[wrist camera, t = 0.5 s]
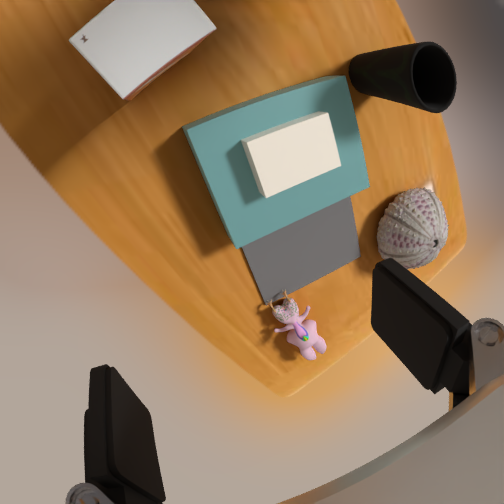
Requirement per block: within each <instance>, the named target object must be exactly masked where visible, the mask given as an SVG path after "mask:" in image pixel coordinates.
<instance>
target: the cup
mask: <svg viewBox="0 0 504 504" xmlns="http://www.w3.org/2000/svg"><path fill="white" fill-rule="evenodd" d="M349 77H350V80H351V83H352V84H353V86H354V87H355V88H356V90H358V91H359V92H361V93H363V94H367V95H371V96H375V97H379V98H383V99H387V100H391V101H395V102H398V103H402V104H405V105H409V106H412V107H416V108H419V109H422V110H425V111H428V112H432V113H440V112H443V111H444V110H446V109H447V108H448V107H449V106H450V104H451V103H452V100H453V99H454V96H455V92H456V83H457V82H456V73H455V69H454V65H453V63H452V60H451V59H450V57H449V55H448V53H447V52H446V51H445V50H444V49H443V48H442V47H441V46H439V45H438V44H436V43H434V42H421V43H414V44H408V45H403V46H397V47H392V48H387V49H382V50H377V51H372V52H368V53H363V54H359V55H357V56H356V57H354V58H353V60H352V61H351V63H350V66H349Z"/></svg>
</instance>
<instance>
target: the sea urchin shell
mask: <svg viewBox="0 0 504 504" xmlns="http://www.w3.org/2000/svg"><path fill="white" fill-rule="evenodd" d="M447 222H448V221H447V220H446V215H445V212H444V208H443V206H442V202H441V201H439V198H437V196H435V193H434V192H431V190H429V189H428V190H427V189H426V188H425V187H424V188H423V189H422V188H420V189H418V188H416V189H415V188H414V189H410V190H407V191H403V193H401V194H398V196H397V197H395V199H394V201H393V202H392V203H390V204H389V206H388V208H386V209H385V214H384V216H383V217H381V220H380V222H379V227H378V232H377V234H378V235H377V241H378V245H379V246H378V249H379V250H378V252H379V253H380V255H381V258H383V259H387V258H393V259H394V260H396V261H397V262H398V263H400V264H401V265H402V266H403V267H405V268H406V269H409V268H413V269H415V268H416V267H417V268H419V267H420V266H424V265H426V264H428V263H430V262H432V261H433V260H434V259H435V258H436V257H437V256H438V253H439V251H440V250H441V249H442V247H443V246H444V245H445V242H446V240H447V236H448V226H449V225H448V224H447Z"/></svg>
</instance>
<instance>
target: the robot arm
mask: <svg viewBox="0 0 504 504" xmlns="http://www.w3.org/2000/svg"><path fill="white" fill-rule="evenodd" d="M371 325H372V328H373V330H374V331H375V332H376V333H377V334H378V336H379V337H380V338H381V339H382V340H383V341H384V342H385V343H386V344H387V346H388V347H389V348H390V349H391V350H392V351H393V352H394V354H395V355H396V356H397V357H398V358H399V359H400V360H401V361H402V363H403V364H404V365H405V366H406V367H407V368H408V369H409V371H410V372H411V373H412V374H413V375H414V376H415V378H416V379H417V380H418V381H419V382H420V383H421V385H422V386H423V387H424V388H425V389H427V390H429V389H430V390H431V391H432V392H433V393H434V394H436V393H437V392H438V391H440V390H441V389H443V388H444V387H446V389H447V390H448V391H449V412H447V413H446V414H445V415H443V416H442V417H440V418H439V419H438V420H436V421H435V422H433V423H432V424H430V425H429V426H428V427H426V428H425V429H423V430H422V431H420V432H419V433H417V434H416V435H414V436H413V437H411V438H410V439H408V440H406V441H405V442H403V443H401V444H400V445H398V446H397V447H395V448H393V449H392V450H390V451H388V452H386V453H385V454H383V455H382V456H379V457H378V458H376V459H374V460H372V461H371V462H369V463H367V464H365V465H363V466H362V467H360V468H358V469H355V470H354V471H352V472H350V473H348V474H346V475H344V476H342V477H339V478H337V479H335V480H333V481H331V482H329V483H327V484H324V485H322V486H320V487H318V488H315V489H313V490H311V491H308V492H306V493H303V494H301V495H299V496H296V497H293V498H291V499H289V500H286V501H283V502H281V503H278V504H504V326H503V324H501V323H500V322H499V321H497V320H494V319H491V318H482V319H479V320H477V321H476V322H475V323H474V324H473V325H472V324H470V323H469V320H467V319H466V318H465V317H464V316H463V315H462V314H461V313H459V312H458V311H457V310H456V309H455V308H453V307H452V306H451V305H450V304H449V303H448V302H446V301H445V300H444V299H443V298H442V297H440V296H439V295H438V294H437V293H436V292H434V291H433V290H432V289H431V288H429V287H428V286H427V285H426V284H425V283H423V282H422V281H421V280H420V279H418V278H417V277H416V276H415V275H413V274H412V273H411V272H410V271H408V270H407V269H406V268H405V267H403V266H402V265H401V264H400V263H398V262H397V261H396V260H394V259H393V258H387V259H385V260H383V261H381V262H379V263H377V264H376V266H375V269H373V277H372V311H371ZM84 462H85V483H80V484H77V485H75V486H74V487H72V488H71V489H70V491H69V492H68V494H67V497H66V504H162V502H164V501H165V500H166V497H165V492H164V487H163V482H162V477H161V473H160V467H159V462H158V456H157V451H156V446H155V440H154V433H153V426H152V420H151V415H150V413H149V411H148V409H147V408H146V407H145V405H144V404H143V403H142V402H141V401H140V399H139V398H138V397H137V396H136V394H135V393H134V392H133V391H132V389H131V388H130V387H129V386H128V384H127V383H126V382H125V381H124V379H123V378H122V377H121V375H120V374H119V373H118V371H117V370H116V369H115V368H114V367H109V366H108V365H107V364H105V365H102V366H98V367H95V368H92V369H91V371H90V384H89V409H87V410H86V412H85V416H84Z"/></svg>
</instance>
